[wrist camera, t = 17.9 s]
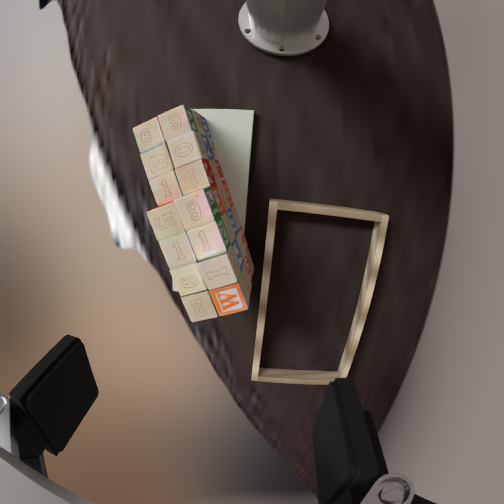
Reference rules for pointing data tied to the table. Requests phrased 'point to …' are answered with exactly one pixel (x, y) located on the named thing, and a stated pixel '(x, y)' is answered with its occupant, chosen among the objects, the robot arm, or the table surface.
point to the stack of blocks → (195, 214)
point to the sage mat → (232, 152)
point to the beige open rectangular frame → (363, 300)
